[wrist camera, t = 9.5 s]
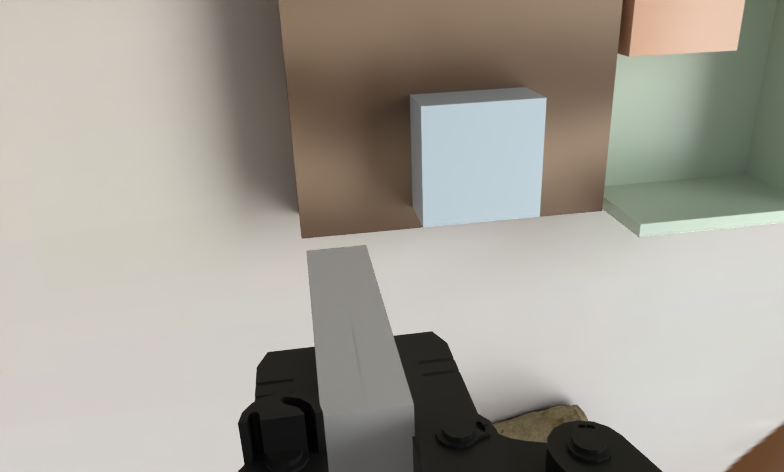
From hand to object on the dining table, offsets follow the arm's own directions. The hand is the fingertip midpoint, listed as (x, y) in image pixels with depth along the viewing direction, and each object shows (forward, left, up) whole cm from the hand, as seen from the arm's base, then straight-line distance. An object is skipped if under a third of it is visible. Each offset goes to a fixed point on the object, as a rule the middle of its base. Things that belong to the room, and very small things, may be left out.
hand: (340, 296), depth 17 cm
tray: (-3, +18, -15) cm, 24 cm away
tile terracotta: (-6, +16, -14) cm, 22 cm away
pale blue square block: (0, +7, -12) cm, 14 cm away
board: (-3, +6, -15) cm, 16 cm away
